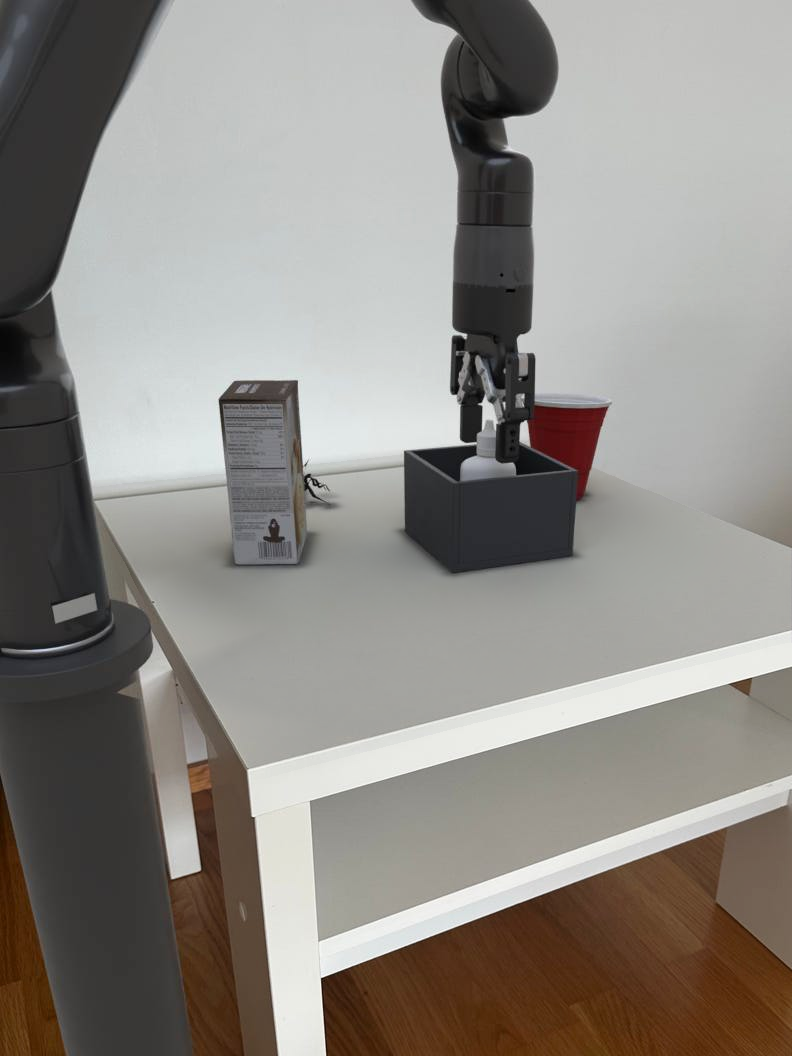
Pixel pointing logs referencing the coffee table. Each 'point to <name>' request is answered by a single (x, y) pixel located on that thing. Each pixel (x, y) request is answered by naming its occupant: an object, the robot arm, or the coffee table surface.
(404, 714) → the coffee table surface
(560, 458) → the plastic cup
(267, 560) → the coffee box
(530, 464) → the bin
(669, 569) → the coffee table surface
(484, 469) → the eye dropper bottle
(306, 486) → the creature
